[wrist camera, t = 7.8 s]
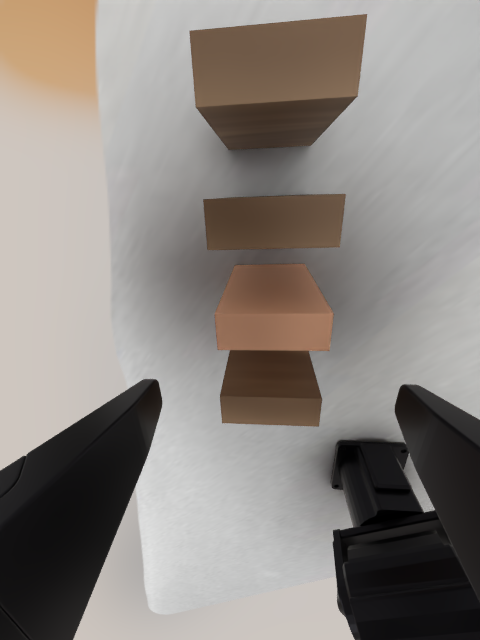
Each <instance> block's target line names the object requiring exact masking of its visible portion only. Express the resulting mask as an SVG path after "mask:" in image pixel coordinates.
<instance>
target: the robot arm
mask: <svg viewBox="0 0 480 640" xmlns="http://www.w3.org/2000/svg"><path fill="white" fill-rule="evenodd" d="M161 408H162V397H161V392H160V387H159V383H158V381H157V380H156V379H144V380H142V381H140V382H139V383H137V384H136V385H134V386H132V387H131V388H129V389H128V390H126V391H125V392H123V393H121V394H120V395H118V396H117V397H115V398H114V399H112V400H111V401H109V402H107V403H106V404H104V405H103V406H101V407H100V408H98V409H96V410H95V411H93V412H92V413H90V414H89V415H87V416H85V417H84V418H82V419H81V420H79V421H78V422H76V423H74V424H73V425H71V426H70V427H68V428H67V429H65V430H64V431H62V432H60V433H59V434H57V435H56V436H54V437H53V438H51V439H49V440H48V441H46V442H45V443H43V444H42V445H40V446H39V447H37V448H35V449H34V450H32V451H31V452H29V453H28V454H27V456H23V457H21V458H20V459H18V460H17V461H15V462H14V463H12V464H10V465H9V466H7V467H5V468H4V469H2V470H1V471H0V640H73V638H74V636H75V633H76V631H77V628H78V626H79V624H80V621H81V619H82V616H83V614H84V611H85V609H86V606H87V604H88V601H89V599H90V597H91V594H92V591H93V589H94V587H95V584H96V582H97V579H98V577H99V574H100V572H101V569H102V567H103V565H104V562H105V559H106V557H107V555H108V552H109V550H110V547H111V545H112V542H113V540H114V537H115V535H116V533H117V530H118V527H119V525H120V523H121V520H122V518H123V515H124V513H125V510H126V508H127V506H128V503H129V501H130V498H131V496H132V493H133V491H134V488H135V486H136V483H137V481H138V479H139V476H140V474H141V471H142V469H143V466H144V464H145V461H146V459H147V456H148V453H149V450H150V447H151V443H152V440H153V436H154V433H155V429H156V426H157V422H158V419H159V415H160V412H161ZM395 415H396V418H397V420H398V423H399V426H400V429H401V431H402V434H403V437H404V440H405V442H406V445H405V444H395V443H370V442H345V441H342V442H339V443H337V447H336V453H335V459H334V466H333V472H332V478H331V486H332V488H333V489H340V490H344V494H345V497H346V501H347V505H348V509H349V512H350V516H351V520H352V523H353V528H348V529H344V530H340V529H337V530H333V537H334V541H333V549H334V559H335V569H336V578H337V603H338V608H339V610H340V612H341V613H342V614H343V615H344V616H345V617H346V619H347V621H348V624H349V627H350V630H351V632H352V634H353V637H354V639H355V640H480V420H479V419H477V418H475V417H474V416H472V415H470V414H468V413H467V412H465V411H463V410H461V409H460V408H458V407H456V406H454V405H453V404H451V403H449V402H447V401H445V400H444V399H442V398H440V397H438V396H437V395H435V394H433V393H431V392H430V391H428V390H426V389H424V388H423V387H421V386H419V385H406V384H404V385H402V386H401V387H400V389H399V393H398V396H397V400H396V404H395ZM409 453H410V456H411V459H412V461H413V464H414V466H415V469H416V471H417V473H418V475H419V477H420V479H421V481H422V484H423V486H424V488H425V490H426V492H427V494H428V496H429V498H430V500H431V502H432V504H433V506H434V508H435V510H434V511H429V512H425V513H424V511H423V509H422V507H421V505H420V503H419V501H418V499H417V497H416V496H415V494H414V492H413V490H412V488H411V485H410V483H409V481H408V479H407V477H406V475H405V473H404V471H403V470H404V467H405V463H406V460H407V457H408V454H409Z"/></svg>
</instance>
